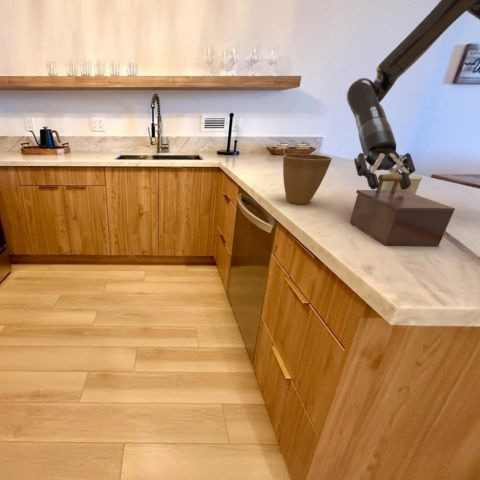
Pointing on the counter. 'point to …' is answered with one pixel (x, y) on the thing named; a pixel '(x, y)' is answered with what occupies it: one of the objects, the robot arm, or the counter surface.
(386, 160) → the robot arm
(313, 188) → the plant pot
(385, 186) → the cream yellow block
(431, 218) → the bread box
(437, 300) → the counter surface
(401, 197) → the box lid
